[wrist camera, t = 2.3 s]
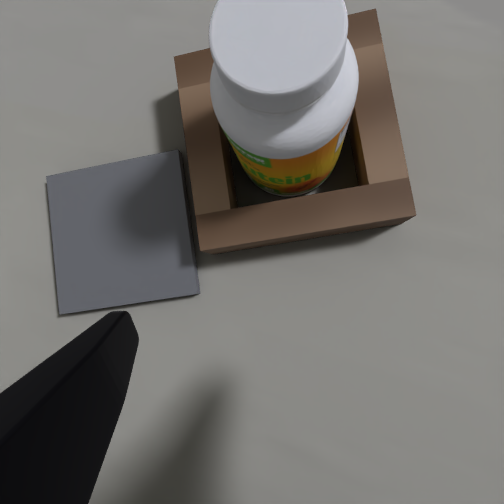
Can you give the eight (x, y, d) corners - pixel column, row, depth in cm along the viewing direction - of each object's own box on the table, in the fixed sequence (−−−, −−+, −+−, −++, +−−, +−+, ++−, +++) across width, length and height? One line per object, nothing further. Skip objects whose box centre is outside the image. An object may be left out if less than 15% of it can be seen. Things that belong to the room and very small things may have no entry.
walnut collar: (401, 223, 19) (416, 215, 16) (213, 254, 20) (200, 250, 17) (366, 42, 20) (375, 8, 17) (189, 83, 21) (173, 56, 18)
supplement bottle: (230, 187, 20) (163, 102, 10) (252, 95, 20) (207, -72, 11) (327, 207, 19) (351, 134, 10) (349, 110, 19) (394, -55, 10)
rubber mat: (200, 293, 20) (197, 293, 19) (66, 313, 21) (59, 314, 20) (181, 153, 21) (177, 149, 20) (53, 179, 22) (46, 176, 21)
